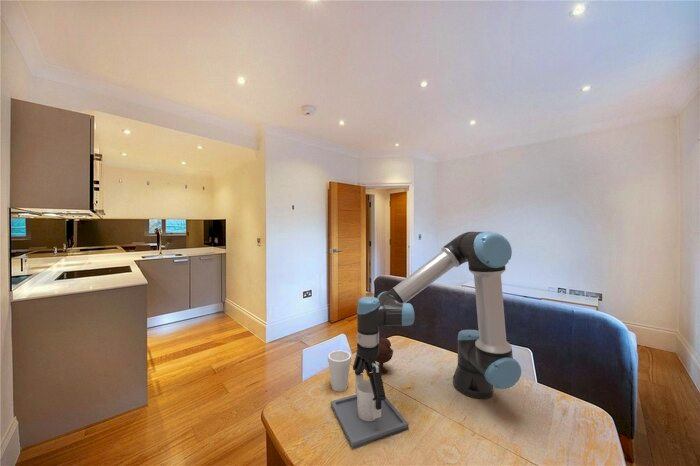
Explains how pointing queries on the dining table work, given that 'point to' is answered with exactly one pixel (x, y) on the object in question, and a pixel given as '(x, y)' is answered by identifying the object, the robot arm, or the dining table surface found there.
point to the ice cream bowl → (384, 353)
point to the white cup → (365, 400)
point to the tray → (367, 422)
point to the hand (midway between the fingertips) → (367, 404)
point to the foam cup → (339, 369)
